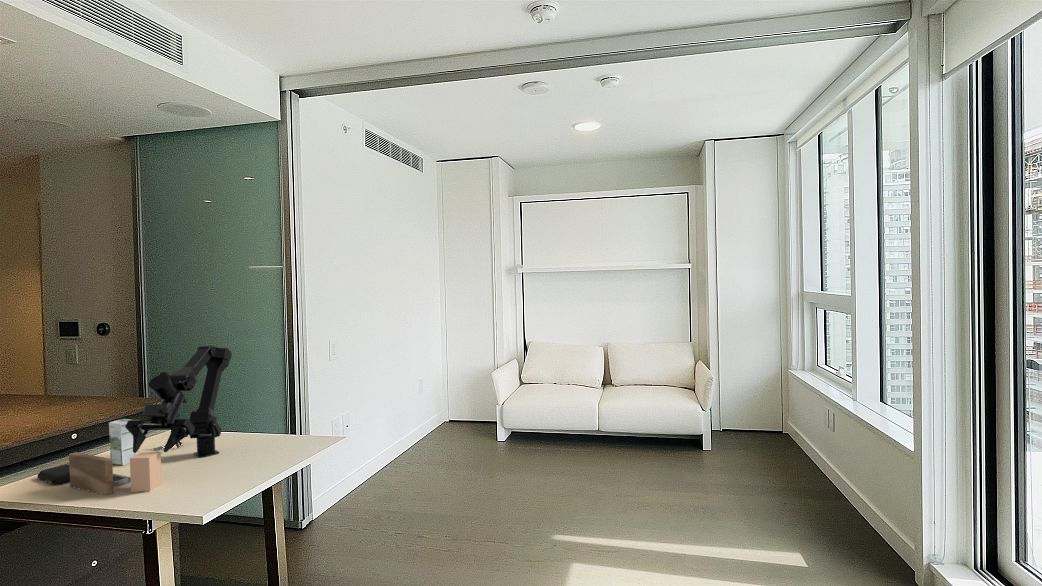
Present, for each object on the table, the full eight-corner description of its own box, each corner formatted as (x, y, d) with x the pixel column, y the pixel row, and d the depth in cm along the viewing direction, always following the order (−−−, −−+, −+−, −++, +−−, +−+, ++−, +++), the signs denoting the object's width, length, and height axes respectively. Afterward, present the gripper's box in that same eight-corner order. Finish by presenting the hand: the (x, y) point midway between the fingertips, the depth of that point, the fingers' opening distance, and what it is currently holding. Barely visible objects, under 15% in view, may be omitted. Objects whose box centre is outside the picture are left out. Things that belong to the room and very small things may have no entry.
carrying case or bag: (31, 481, 186) (52, 488, 178) (30, 471, 186) (51, 478, 178) (70, 471, 195) (92, 477, 188) (70, 461, 195) (91, 468, 188)
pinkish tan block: (143, 485, 179) (141, 452, 179) (161, 484, 179) (160, 452, 179) (131, 492, 173) (129, 458, 173) (150, 491, 173) (149, 457, 173)
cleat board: (105, 476, 188) (103, 445, 187) (140, 483, 180) (139, 451, 180) (70, 486, 179) (68, 454, 178) (106, 495, 171) (104, 460, 171)
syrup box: (138, 460, 204) (136, 419, 203) (122, 466, 198) (120, 423, 198) (126, 459, 205) (124, 418, 205) (109, 464, 200) (108, 422, 200)
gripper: (127, 394, 183) (104, 439, 172) (188, 392, 183) (169, 437, 172) (144, 413, 191) (123, 457, 180) (202, 412, 191) (184, 456, 180)
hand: (149, 452), depth 178 cm, fingers open, 9 cm apart
